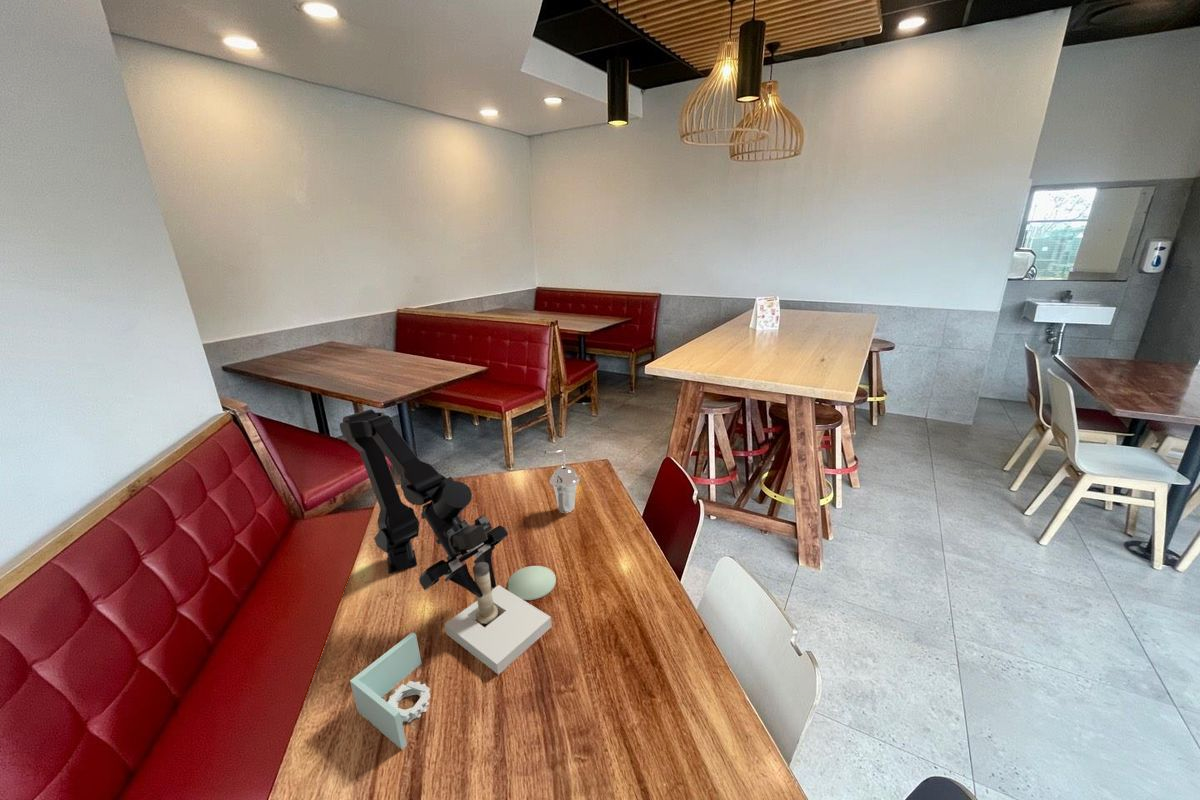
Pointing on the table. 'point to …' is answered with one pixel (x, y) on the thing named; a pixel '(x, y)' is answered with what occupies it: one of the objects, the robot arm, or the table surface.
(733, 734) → the table surface
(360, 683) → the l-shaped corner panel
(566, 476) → the cup with straw
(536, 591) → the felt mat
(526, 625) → the socket plate
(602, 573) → the table surface
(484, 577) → the key peg
